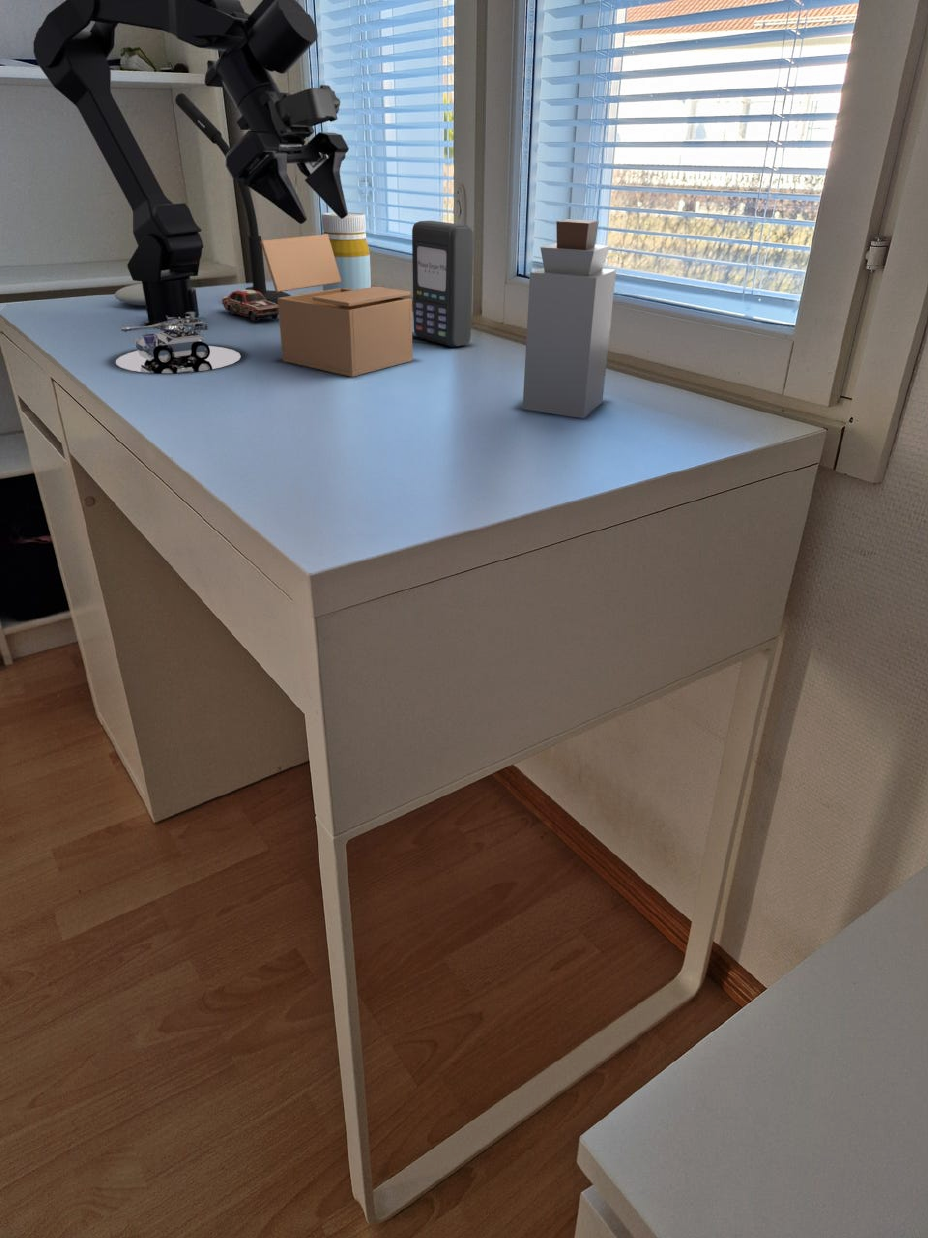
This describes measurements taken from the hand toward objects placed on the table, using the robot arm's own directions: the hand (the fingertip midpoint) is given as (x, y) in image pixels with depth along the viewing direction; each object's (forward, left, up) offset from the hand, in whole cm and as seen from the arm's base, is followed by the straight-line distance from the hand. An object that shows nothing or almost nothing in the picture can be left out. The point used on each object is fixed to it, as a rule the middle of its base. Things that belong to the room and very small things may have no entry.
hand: (325, 219), depth 106 cm
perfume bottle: (+26, -30, -16) cm, 43 cm away
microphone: (-16, +39, -16) cm, 45 cm away
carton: (+2, -10, -15) cm, 18 cm away
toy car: (-19, -8, -16) cm, 26 cm away
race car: (-13, +20, -16) cm, 28 cm away
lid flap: (-3, -5, -4) cm, 7 cm away
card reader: (+15, +2, -16) cm, 22 cm away
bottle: (+2, +14, -16) cm, 21 cm away
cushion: (-30, +31, -16) cm, 46 cm away
